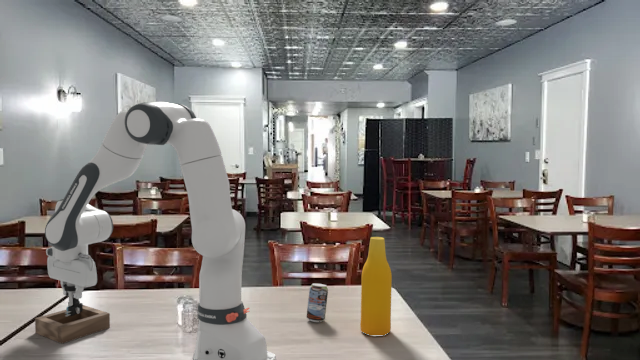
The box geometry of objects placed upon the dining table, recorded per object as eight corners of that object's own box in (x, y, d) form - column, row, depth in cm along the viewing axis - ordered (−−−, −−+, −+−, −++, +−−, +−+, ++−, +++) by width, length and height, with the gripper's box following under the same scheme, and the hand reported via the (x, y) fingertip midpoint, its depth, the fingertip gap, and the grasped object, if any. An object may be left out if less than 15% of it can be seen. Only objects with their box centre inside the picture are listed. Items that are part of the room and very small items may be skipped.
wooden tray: (109, 327, 150) (109, 313, 150) (61, 343, 138) (61, 328, 137) (83, 318, 158) (82, 304, 158) (35, 333, 145) (35, 318, 145)
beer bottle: (355, 328, 153) (356, 236, 151) (381, 324, 156) (383, 234, 154) (368, 339, 144) (370, 241, 142) (396, 335, 147) (398, 239, 145)
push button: (73, 318, 144) (73, 285, 143) (57, 317, 144) (56, 284, 144) (87, 311, 150) (87, 279, 149) (71, 310, 151) (71, 278, 150)
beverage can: (303, 322, 157) (303, 285, 156) (313, 315, 164) (314, 280, 163) (320, 325, 154) (320, 288, 153) (330, 318, 161) (331, 282, 160)
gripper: (102, 253, 143) (103, 300, 144) (63, 245, 154) (63, 288, 155) (81, 257, 138) (82, 305, 139) (42, 248, 149) (43, 293, 150)
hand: (72, 296), depth 147 cm, fingers closed on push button, 4 cm apart
